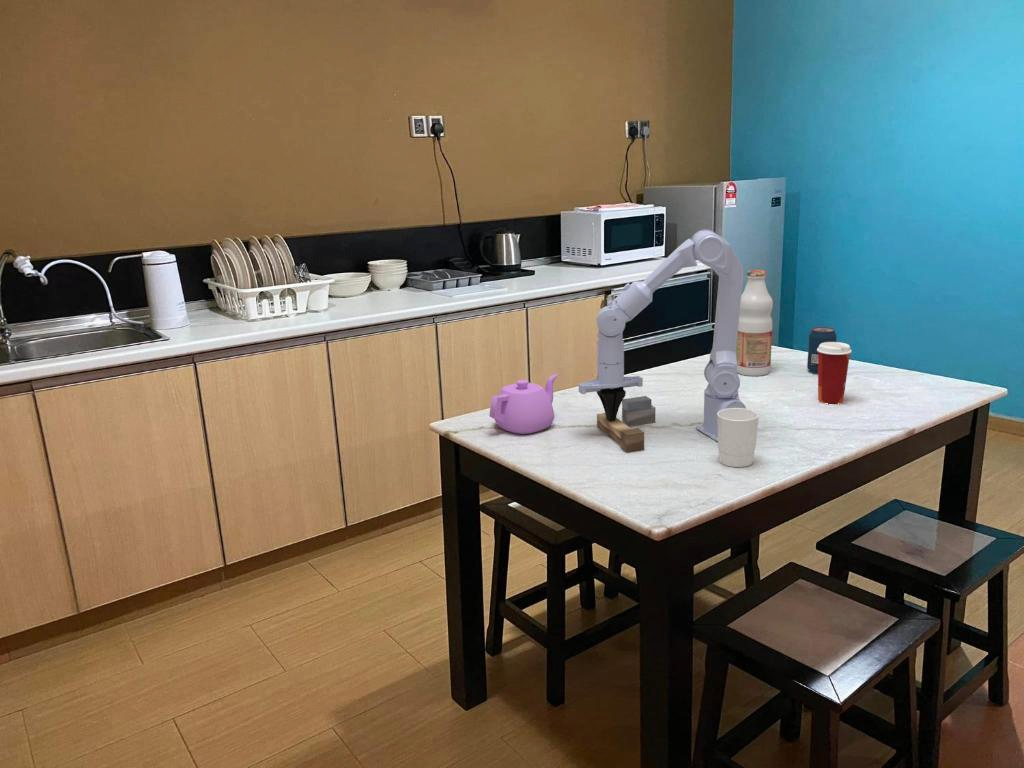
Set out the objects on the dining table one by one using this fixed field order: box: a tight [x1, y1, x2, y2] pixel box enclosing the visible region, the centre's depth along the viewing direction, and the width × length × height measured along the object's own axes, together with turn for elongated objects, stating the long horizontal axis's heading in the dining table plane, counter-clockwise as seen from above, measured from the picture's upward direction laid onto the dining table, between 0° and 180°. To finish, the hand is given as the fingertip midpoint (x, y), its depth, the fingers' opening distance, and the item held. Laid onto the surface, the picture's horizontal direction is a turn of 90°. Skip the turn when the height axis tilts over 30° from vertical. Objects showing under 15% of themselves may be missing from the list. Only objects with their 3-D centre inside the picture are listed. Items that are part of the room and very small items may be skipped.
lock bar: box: [621, 395, 653, 411], centre depth 181 cm, size 3×6×2 cm, turn 107°
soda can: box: [806, 326, 837, 375], centre depth 213 cm, size 7×7×12 cm
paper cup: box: [817, 341, 853, 405], centre depth 189 cm, size 8×8×14 cm
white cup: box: [717, 408, 760, 468], centre depth 157 cm, size 8×8×10 cm
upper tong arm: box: [596, 412, 632, 439], centre depth 174 cm, size 14×3×2 cm, turn 17°
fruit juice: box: [736, 269, 774, 377], centre depth 214 cm, size 9×9×28 cm
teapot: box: [488, 373, 559, 435], centre depth 183 cm, size 13×20×11 cm
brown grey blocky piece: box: [596, 404, 656, 454], centre depth 175 cm, size 18×14×4 cm
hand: (610, 420), depth 176 cm, fingers closed, pressing on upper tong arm
